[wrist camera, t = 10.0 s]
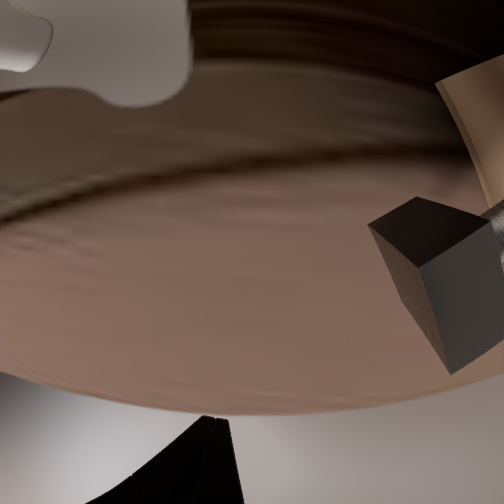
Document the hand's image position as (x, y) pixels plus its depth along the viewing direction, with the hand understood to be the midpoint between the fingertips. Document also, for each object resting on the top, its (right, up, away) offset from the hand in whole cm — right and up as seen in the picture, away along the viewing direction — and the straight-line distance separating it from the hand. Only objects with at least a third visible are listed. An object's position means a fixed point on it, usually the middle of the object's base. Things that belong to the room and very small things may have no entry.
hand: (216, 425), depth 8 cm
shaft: (+16, +10, +1) cm, 19 cm away
